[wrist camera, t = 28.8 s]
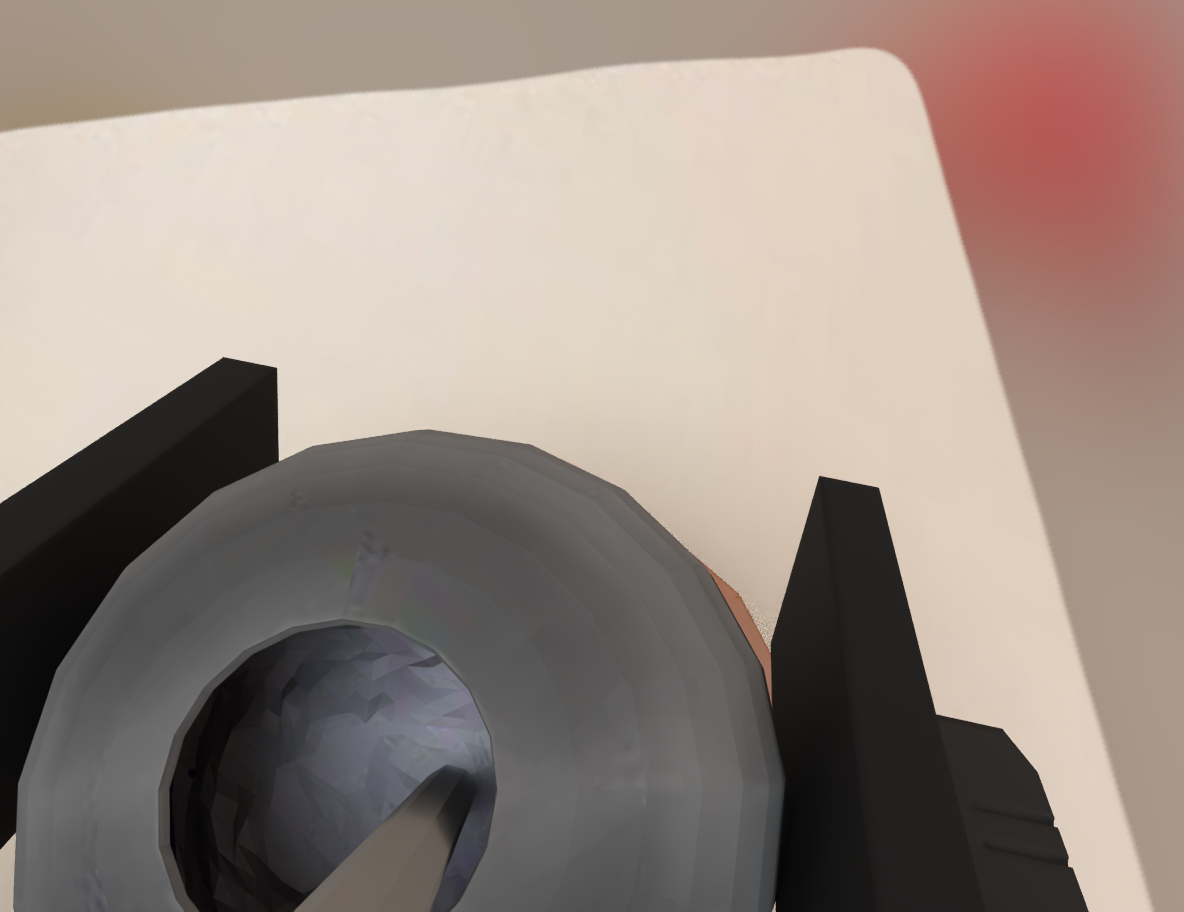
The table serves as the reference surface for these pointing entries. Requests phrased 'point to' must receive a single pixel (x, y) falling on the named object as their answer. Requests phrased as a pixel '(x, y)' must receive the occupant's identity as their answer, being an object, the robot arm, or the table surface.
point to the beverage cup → (407, 704)
